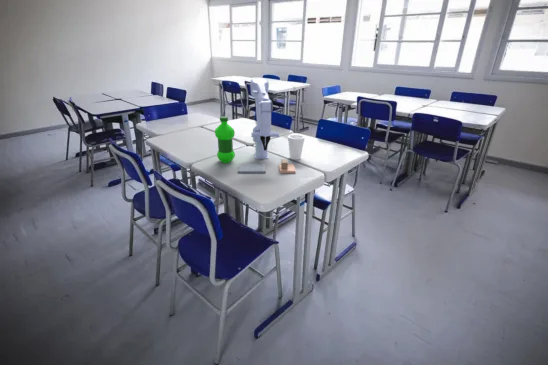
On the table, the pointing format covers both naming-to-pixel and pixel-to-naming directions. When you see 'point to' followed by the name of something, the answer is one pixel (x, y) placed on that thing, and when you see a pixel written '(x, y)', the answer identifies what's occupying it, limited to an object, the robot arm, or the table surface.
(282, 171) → the stub
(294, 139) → the foam cup
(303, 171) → the table surface
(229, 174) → the table surface
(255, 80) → the robot arm
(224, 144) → the plastic bottle
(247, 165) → the board
